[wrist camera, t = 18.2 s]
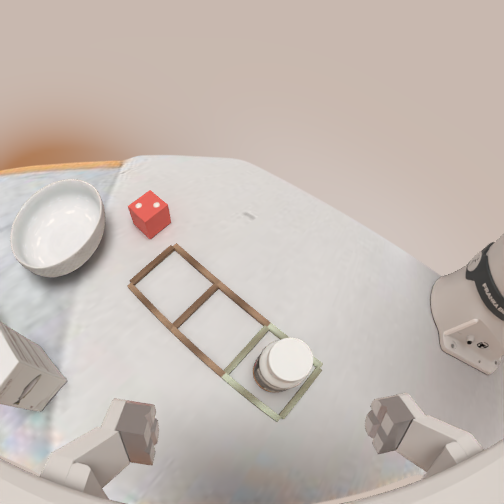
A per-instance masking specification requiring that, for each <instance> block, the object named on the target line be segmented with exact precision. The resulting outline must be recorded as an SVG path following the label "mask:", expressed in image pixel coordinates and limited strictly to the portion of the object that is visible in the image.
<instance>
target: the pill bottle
mask: <svg viewBox="0 0 504 504" xmlns="http://www.w3.org/2000/svg"><path fill="white" fill-rule="evenodd" d="M312 365H313V354H312V351H311V349H310V348H309V346H308V345H307V344H306V343H305V342H303V341H302V340H300V339H297V338H284V339H281V340H277V341H274V342H272V343H270V344H269V345H268V346H266V347H265V348H264V350H263V351H262V353H261V354H260V356H259V357H258V358H257V360H256V362H255V364H254V367H253V375H254V379H255V381H256V383H257V384H258V385H259V386H260V387H261V388H262V389H264V390H266V391H269V392H281V391H284V390H287V389H290V388H293V387H295V386H297V385H299V384H300V383H301V382H303V381H304V380H305V378H306V377H307V375H308V373H309V372H310V370H311V368H312Z"/></svg>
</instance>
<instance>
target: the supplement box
mask: <svg viewBox="0 0 504 504" xmlns="http://www.w3.org/2000/svg"><path fill="white" fill-rule="evenodd" d="M66 382H67V380H66V379H65V377H64V376H63V375H62V374H61V373H60V371H59V370H58V369H57V368H56V366H55V365H54V364H53V362H52V361H51V360H50V358H49V357H48V356H47V354H46V353H45V352H44V350H43V349H42V348H41V347H40V346H39V345H37V344H35V343H34V342H32V341H31V340H29V339H27V338H26V337H24V336H22V335H21V334H19V333H17V332H16V331H14V330H13V329H11V328H9V327H8V326H6V325H5V324H3V323H2V322H0V404H3V405H8V406H12V407H17V408H22V409H28V410H33V411H39V412H41V411H42V410H43V408H44V407H45V406H46V404H47V403H48V402H49V401H50V399H51V398H52V397H53V396H54V395H55V394H56V393H57V391H58V390H59V389H60V388H61V387H62V386H63V385H64V384H65V383H66Z"/></svg>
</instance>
